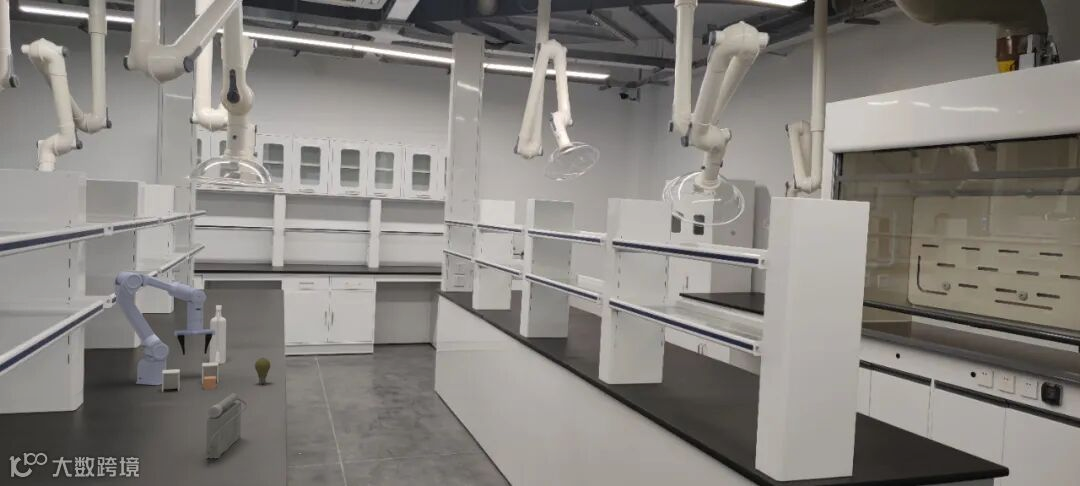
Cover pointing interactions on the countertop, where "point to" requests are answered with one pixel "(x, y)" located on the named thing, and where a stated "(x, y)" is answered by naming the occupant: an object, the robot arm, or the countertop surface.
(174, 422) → the countertop surface
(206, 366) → the right cover
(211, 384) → the cube
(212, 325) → the white bottle
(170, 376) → the left cover
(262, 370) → the light bulb
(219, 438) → the geiger counter
